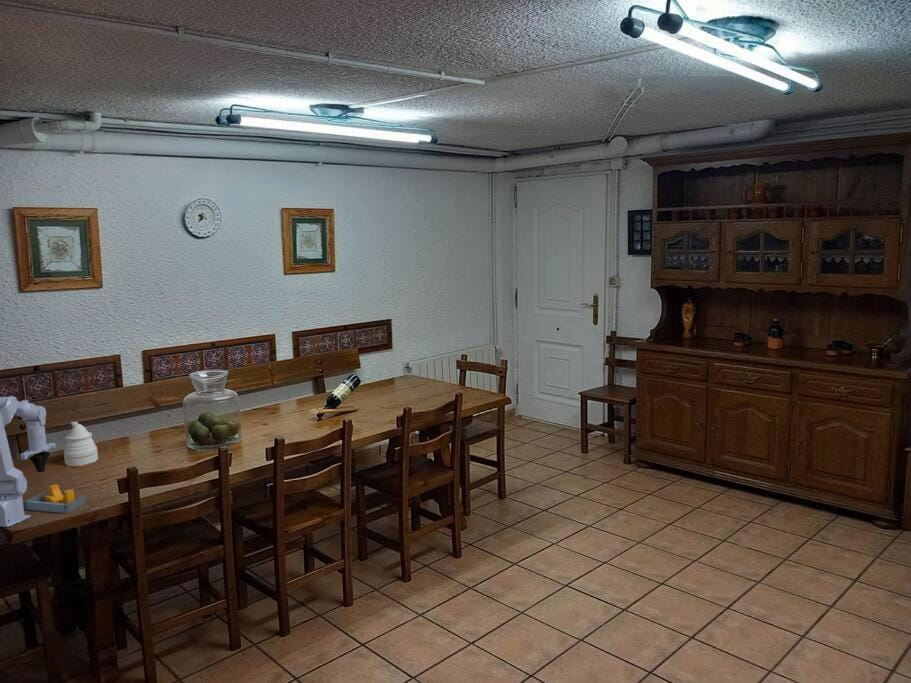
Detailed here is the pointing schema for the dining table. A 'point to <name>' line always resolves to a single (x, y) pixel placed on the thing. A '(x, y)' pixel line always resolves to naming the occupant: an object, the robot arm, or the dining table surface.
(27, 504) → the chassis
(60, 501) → the pipe clamp
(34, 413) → the robot arm
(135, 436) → the dining table surface
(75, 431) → the honey pot
